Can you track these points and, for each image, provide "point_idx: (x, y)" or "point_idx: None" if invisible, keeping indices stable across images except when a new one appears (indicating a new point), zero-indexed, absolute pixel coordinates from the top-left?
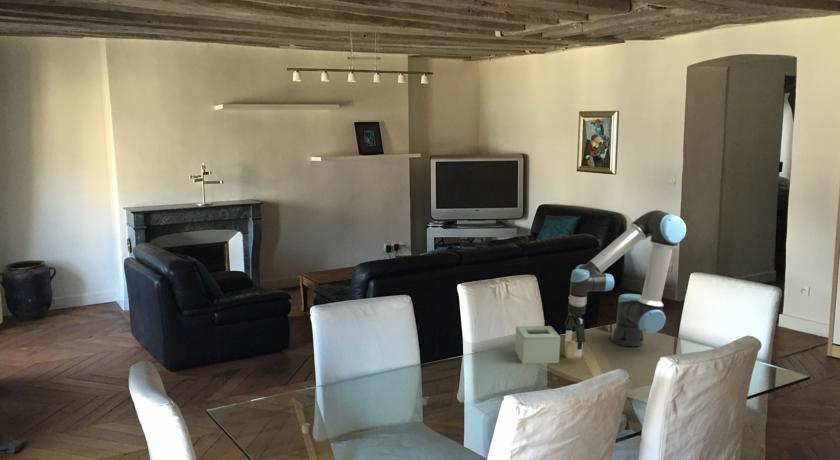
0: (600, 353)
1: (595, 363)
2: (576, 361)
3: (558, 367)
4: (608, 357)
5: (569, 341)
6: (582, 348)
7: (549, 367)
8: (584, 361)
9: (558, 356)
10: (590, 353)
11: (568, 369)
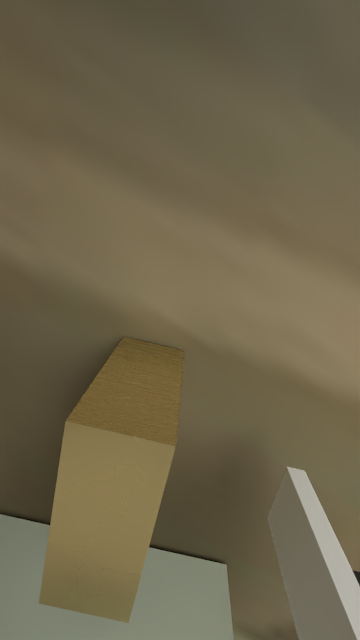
0: (117, 72)
1: (335, 299)
2: (233, 429)
3: None
4: (250, 46)
5: (68, 575)
6: (179, 399)
7: (264, 633)
8: (257, 368)
9: (231, 630)
10: (94, 194)
11: (345, 555)
